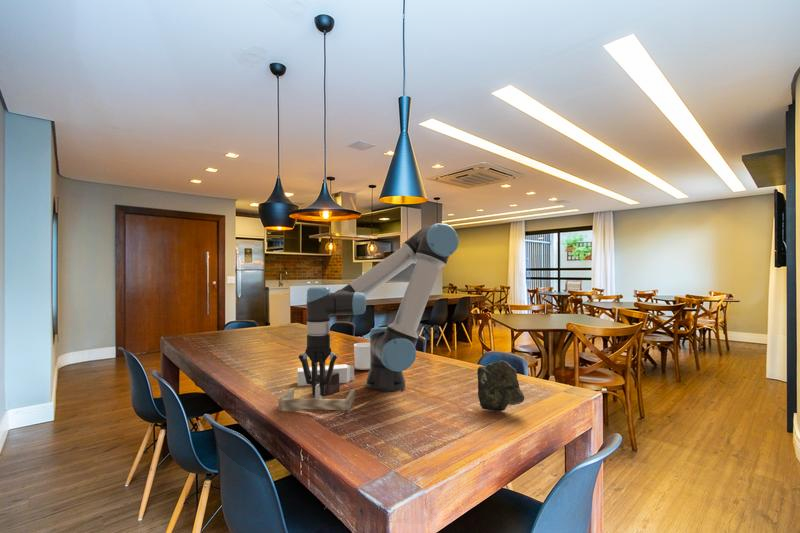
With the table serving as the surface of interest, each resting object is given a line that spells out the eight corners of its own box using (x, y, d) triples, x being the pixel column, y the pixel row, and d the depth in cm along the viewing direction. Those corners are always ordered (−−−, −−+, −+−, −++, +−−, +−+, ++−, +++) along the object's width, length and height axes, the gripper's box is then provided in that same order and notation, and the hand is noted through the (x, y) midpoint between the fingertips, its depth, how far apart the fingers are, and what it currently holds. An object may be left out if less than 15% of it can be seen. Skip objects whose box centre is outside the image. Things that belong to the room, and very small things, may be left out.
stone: (474, 411, 121) (473, 364, 121) (481, 401, 130) (481, 356, 130) (522, 419, 115) (522, 368, 115) (526, 407, 124) (526, 360, 124)
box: (339, 392, 140) (339, 372, 140) (328, 397, 135) (328, 376, 135) (327, 389, 143) (327, 370, 143) (315, 394, 138) (315, 374, 138)
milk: (297, 367, 152) (352, 363, 158) (297, 383, 152) (353, 377, 158) (297, 371, 146) (355, 366, 152) (297, 387, 146) (355, 382, 152)
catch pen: (355, 400, 131) (355, 388, 131) (348, 413, 120) (348, 400, 120) (290, 399, 133) (290, 388, 133) (278, 412, 121) (278, 399, 121)
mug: (351, 369, 171) (351, 346, 170) (357, 364, 179) (356, 342, 179) (375, 370, 169) (375, 347, 169) (380, 365, 178) (379, 343, 177)
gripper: (340, 331, 131) (340, 401, 131) (302, 331, 131) (302, 400, 131) (335, 336, 123) (335, 409, 123) (295, 335, 124) (295, 408, 124)
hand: (318, 404), depth 127 cm, fingers closed
